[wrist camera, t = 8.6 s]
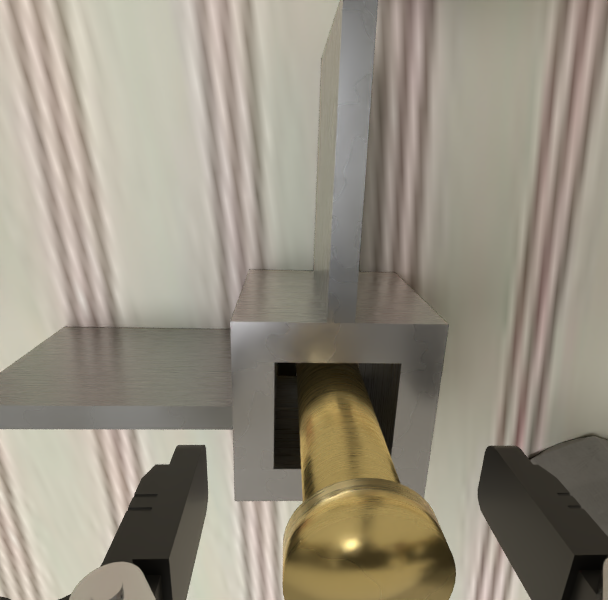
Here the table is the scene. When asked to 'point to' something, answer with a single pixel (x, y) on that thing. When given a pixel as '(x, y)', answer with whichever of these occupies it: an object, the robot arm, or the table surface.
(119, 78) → the table surface
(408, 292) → the grey corner bracket
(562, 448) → the coffeepot
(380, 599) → the hinge pin
